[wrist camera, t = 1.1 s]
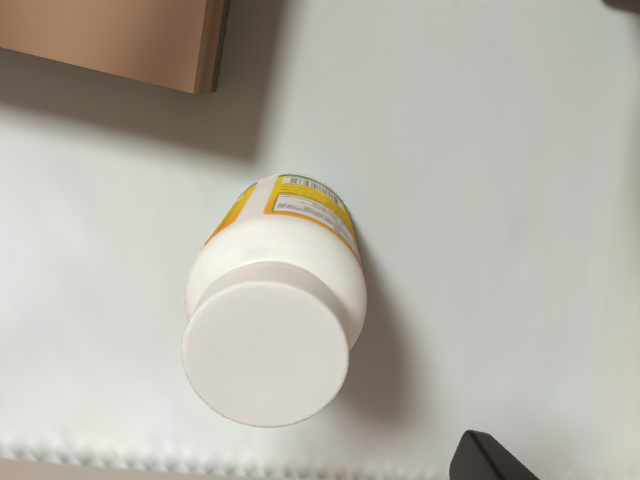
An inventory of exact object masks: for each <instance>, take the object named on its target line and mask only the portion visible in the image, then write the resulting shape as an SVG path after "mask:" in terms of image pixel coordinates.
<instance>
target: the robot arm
mask: <svg viewBox="0 0 640 480" xmlns="http://www.w3.org/2000/svg"><path fill="white" fill-rule="evenodd" d="M449 476H450V480H539V479H538V478H537V477H536V476H535V475H534V474H533V473H532V472H531V471H529V470H528V469H527V468H526V467H525V466H524V465H523V464H522V463H521V462H520V461H518V460H517V459H516V458H515V457H514V456H513V455H512V454H511V453H510V452H509V451H507V450H506V449H505V448H504V447H503V446H502V445H501V444H500V443H499V442H498V441H496V440H495V439H494V438H493V437H492V436H491V435H490V434H488V433H484V432H479V431H474V430H467V431H466V432H465V433H464V434H463V436H462V438H461V440H460V442H459V445H458V447H457V449H456V452H455V454H454V456H453V459H452V461H451V464H450V470H449Z"/></svg>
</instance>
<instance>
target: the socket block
mask: <svg viewBox="0 0 640 480" xmlns="http://www.w3.org/2000/svg"><path fill="white" fill-rule="evenodd" d="M229 3H230V0H0V47H2V48H6V49H10V50H14V51H18V52H23V53H27V54H31V55H35V56H39V57H43V58H47V59H52V60H56V61H60V62H64V63H68V64H72V65H76V66H80V67H85V68H89V69H93V70H97V71H101V72H105V73H109V74H113V75H118V76H122V77H126V78H130V79H134V80H138V81H142V82H147V83H151V84H155V85H159V86H163V87H167V88H171V89H175V90H180V91H184V92H188V93H192V94H196V93H206V92H215V91H216V87H217V80H218V74H219V68H220V61H221V55H222V48H223V42H224V35H225V29H226V23H227V16H228V10H229Z"/></svg>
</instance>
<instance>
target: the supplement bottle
mask: <svg viewBox="0 0 640 480" xmlns="http://www.w3.org/2000/svg"><path fill="white" fill-rule="evenodd" d="M185 305H186V313H187V319H188V324H187V327H186V330H185V333H184V336H183V340H182V361H183V367H184V370H185V373H186V376H187V379H188V380H189V382H190V384H191V386H192V388H193V389H194V391H195V392H196V394H197V395H198V396H199V397H200V398H201V399H202V400H203V401H204V402H205V403H206V404H207V405H208V406H209V407H210V408H211V409H213V410H214V411H216V412H217V413H218V414H220V415H222V416H223V417H225V418H228V419H230V420H232V421H235V422H238V423H241V424H245V425H249V426H254V427H265V428H272V427H283V426H288V425H292V424H296V423H298V422H301V421H304V420H306V419H308V418H310V417H312V416H314V415H316V414H317V413H319V412H320V411H321V410H323V409H324V408H325V407H326V406H327V405H328V404H329V403H330V402H331V401H332V400H333V399H334V398H335V397H336V395H337V394H338V392H339V391H340V389H341V387H342V385H343V383H344V381H345V378H346V376H347V373H348V367H349V356H350V350H351V349H352V347H353V346H354V344H355V343H356V341H357V339H358V337H359V335H360V333H361V331H362V328H363V325H364V321H365V317H366V311H367V290H366V283H365V277H364V274H363V269H362V265H361V261H360V256H359V251H358V247H357V243H356V238H355V234H354V229H353V225H352V221H351V217H350V214H349V212H348V210H347V208H346V206H345V204H344V203H343V201H342V200H341V198H340V197H339V196H338V195H337V193H336V192H334V191H333V190H332V189H331V188H330V187H329V186H327V185H326V184H324V183H323V182H321V181H319V180H317V179H315V178H313V177H310V176H307V175H303V174H298V173H280V174H275V175H271V176H268V177H265V178H263V179H261V180H259V181H257V182H255V183H254V184H252V185H251V186H250V187H248V188H247V189H246V190H245V191H244V192H243V193H242V194H241V195H240V197H239V198H238V199H237V200H236V202H235V203H234V205H233V206H232V207H231V209H230V210H229V212H228V213H227V215H226V216H225V218H224V219H223V220H222V222H221V223H220V225H219V226H218V227H217V229H216V230H215V231H214V233H213V234H212V236H211V237H210V238H209V239H208V240H207V242H206V243H205V245H204V247H203V248H202V250H201V251H200V253H199V254H198V256H197V258H196V260H195V262H194V264H193V266H192V268H191V270H190V273H189V276H188V280H187V285H186V293H185Z"/></svg>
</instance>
